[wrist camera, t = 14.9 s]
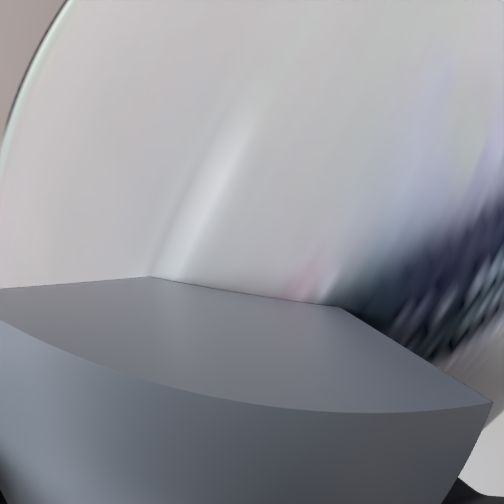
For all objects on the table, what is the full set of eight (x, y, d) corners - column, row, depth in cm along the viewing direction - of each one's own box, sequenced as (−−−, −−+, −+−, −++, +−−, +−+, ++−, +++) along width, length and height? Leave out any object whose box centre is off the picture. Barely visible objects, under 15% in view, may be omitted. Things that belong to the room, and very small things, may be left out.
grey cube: (300, 464, 11) (318, 622, 2) (138, 433, 11) (37, 551, 2) (340, 307, 11) (493, 402, 2) (148, 276, 11) (-46, 291, 3)
